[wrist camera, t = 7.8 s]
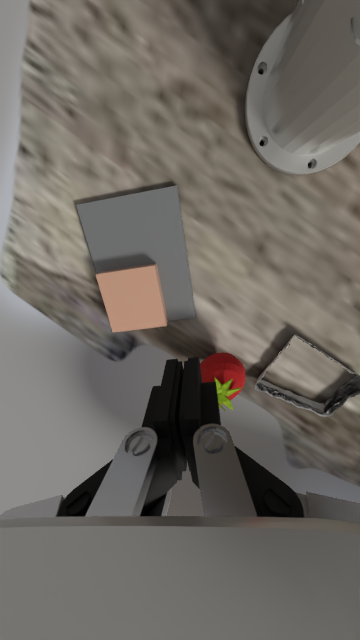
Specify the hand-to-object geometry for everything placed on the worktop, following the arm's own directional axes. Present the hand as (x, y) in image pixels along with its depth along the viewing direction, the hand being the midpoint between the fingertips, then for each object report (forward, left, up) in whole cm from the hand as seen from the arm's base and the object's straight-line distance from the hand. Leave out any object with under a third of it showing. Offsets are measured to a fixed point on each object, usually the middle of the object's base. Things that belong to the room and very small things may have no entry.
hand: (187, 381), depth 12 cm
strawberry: (+11, +2, -20) cm, 23 cm away
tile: (0, -4, -19) cm, 19 cm away
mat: (-4, -6, -20) cm, 21 cm away
